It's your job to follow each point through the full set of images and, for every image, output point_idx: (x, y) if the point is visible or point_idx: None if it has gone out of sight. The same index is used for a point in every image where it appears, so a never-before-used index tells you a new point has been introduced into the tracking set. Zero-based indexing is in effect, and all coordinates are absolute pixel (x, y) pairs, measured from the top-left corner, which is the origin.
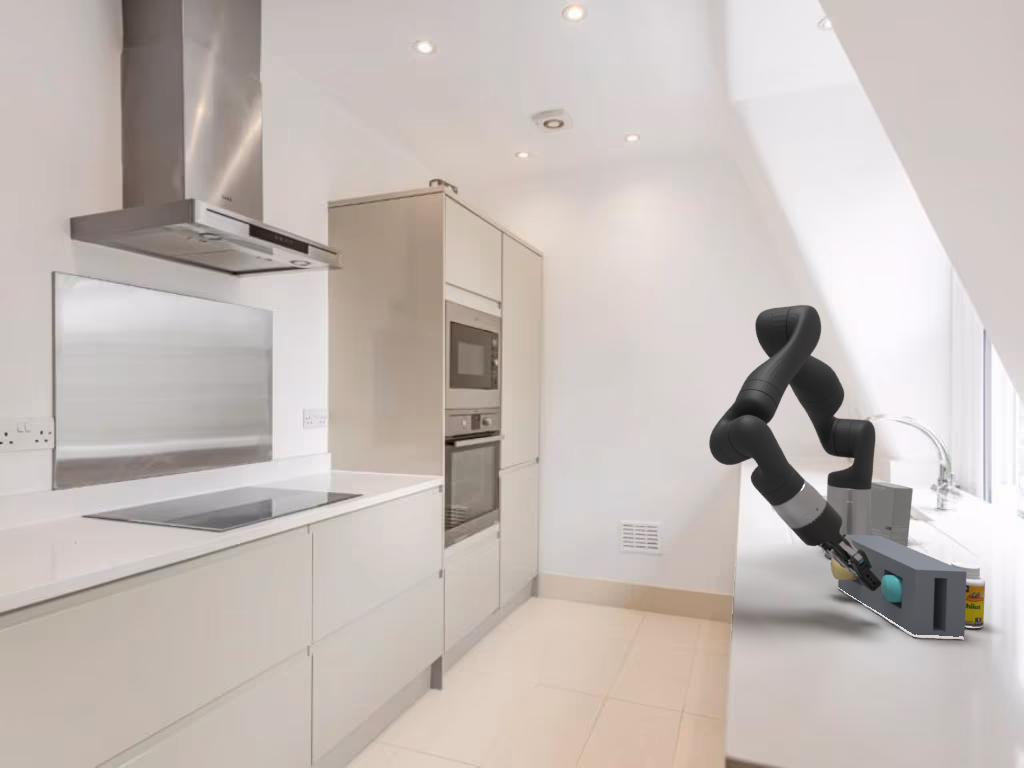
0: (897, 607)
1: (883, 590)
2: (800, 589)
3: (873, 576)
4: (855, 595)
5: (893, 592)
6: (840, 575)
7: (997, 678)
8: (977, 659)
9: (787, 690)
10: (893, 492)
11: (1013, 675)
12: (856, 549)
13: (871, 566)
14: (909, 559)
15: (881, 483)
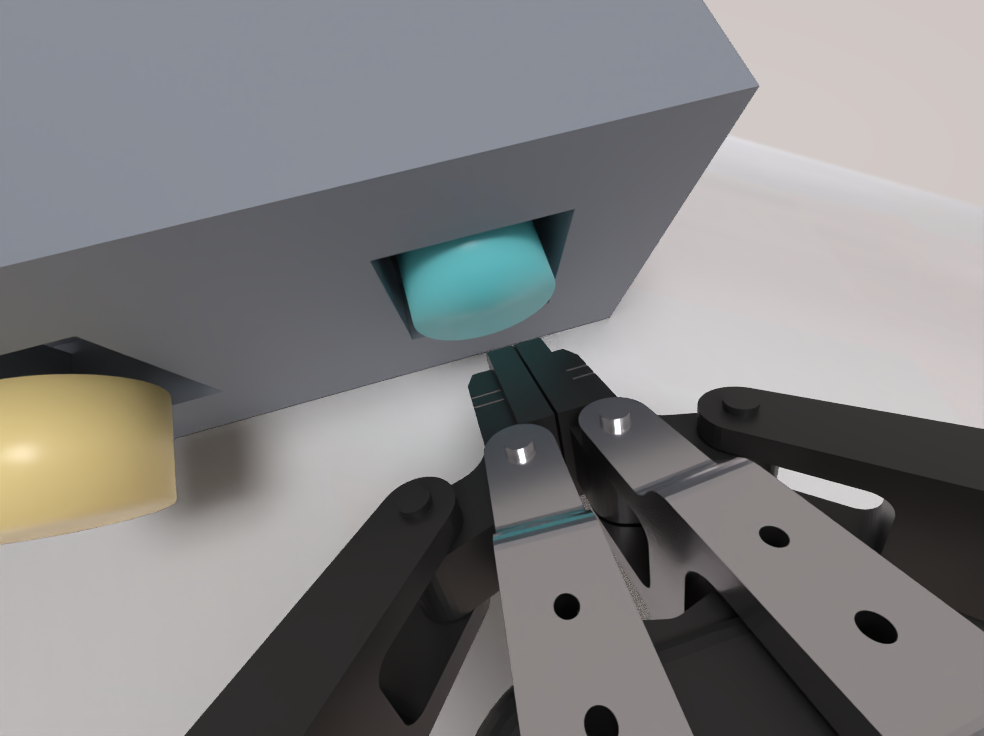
0: None
1: (445, 330)
2: (89, 674)
3: (596, 378)
4: (210, 420)
5: (530, 298)
6: (164, 502)
7: (832, 194)
8: (706, 196)
9: None
10: None
11: (781, 153)
12: (858, 548)
13: (756, 391)
14: (417, 54)
15: None
